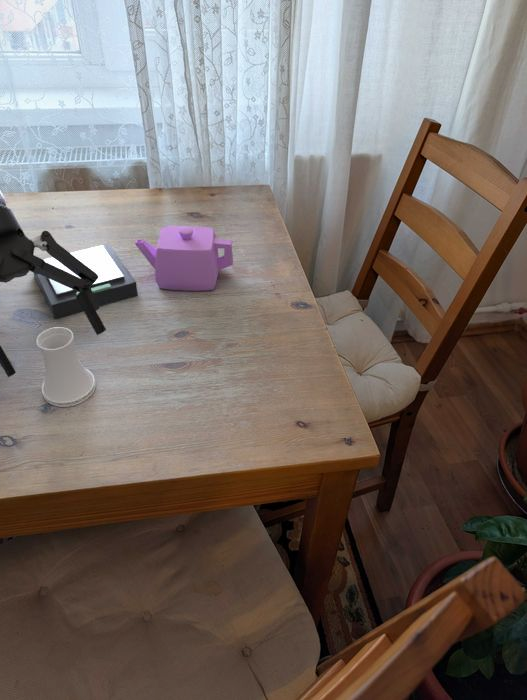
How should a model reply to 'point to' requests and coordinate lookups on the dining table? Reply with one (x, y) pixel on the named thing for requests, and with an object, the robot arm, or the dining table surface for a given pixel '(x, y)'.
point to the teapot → (187, 257)
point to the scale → (106, 288)
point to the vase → (63, 369)
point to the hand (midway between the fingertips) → (59, 352)
